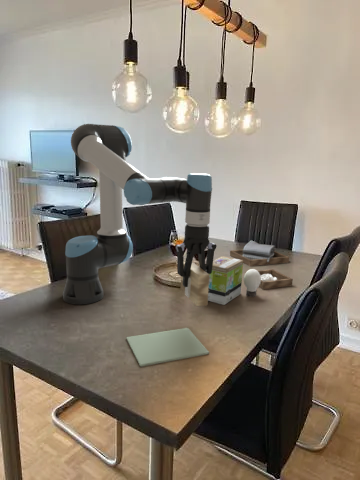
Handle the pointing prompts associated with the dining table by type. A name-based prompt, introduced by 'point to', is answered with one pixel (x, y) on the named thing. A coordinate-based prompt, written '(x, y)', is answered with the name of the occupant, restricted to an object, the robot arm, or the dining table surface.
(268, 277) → the rose
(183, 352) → the mat
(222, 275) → the tea box
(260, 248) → the towel
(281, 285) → the rose frame
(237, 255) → the frame
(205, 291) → the tan rectangular box
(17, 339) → the dining table surface
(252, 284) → the light bulb
